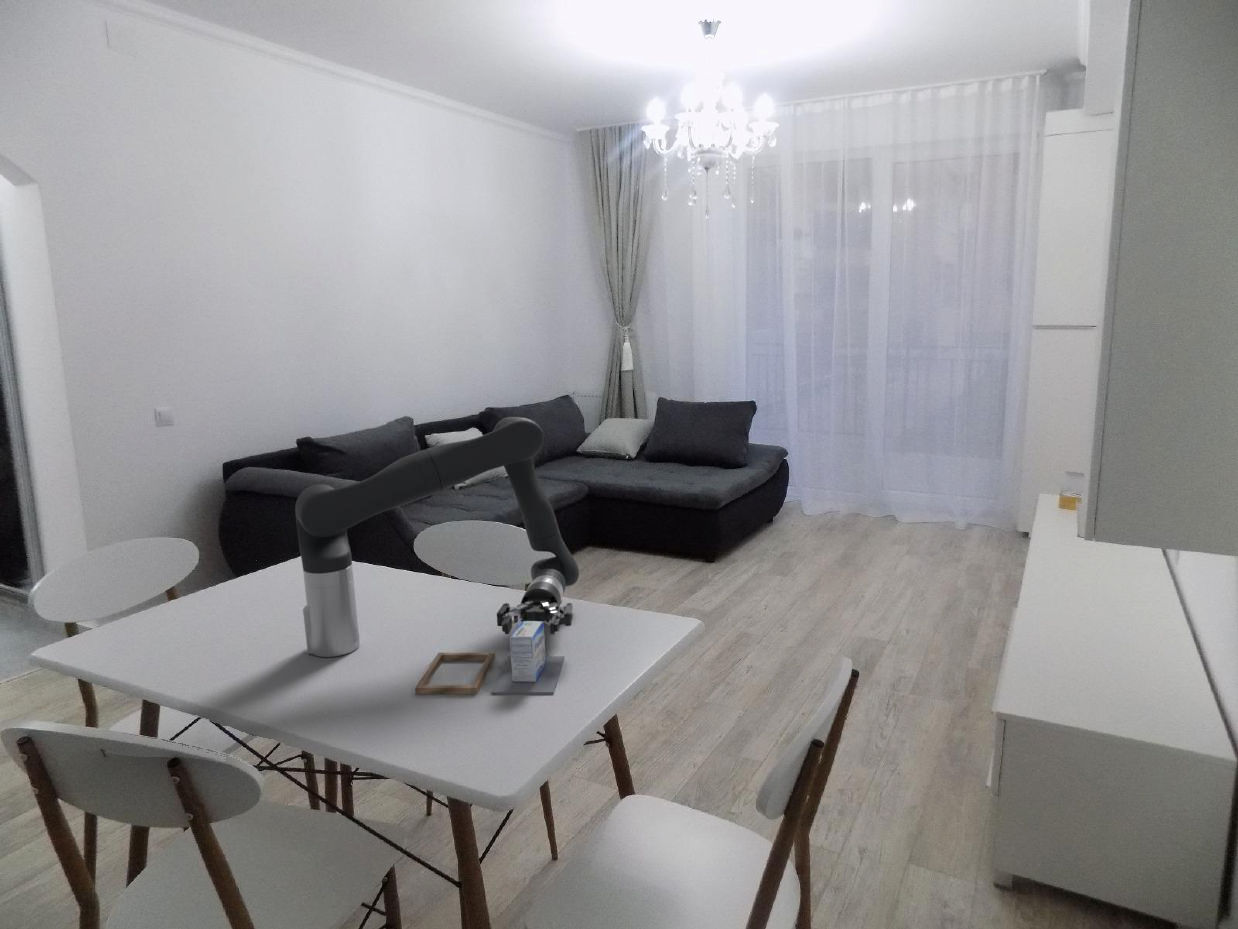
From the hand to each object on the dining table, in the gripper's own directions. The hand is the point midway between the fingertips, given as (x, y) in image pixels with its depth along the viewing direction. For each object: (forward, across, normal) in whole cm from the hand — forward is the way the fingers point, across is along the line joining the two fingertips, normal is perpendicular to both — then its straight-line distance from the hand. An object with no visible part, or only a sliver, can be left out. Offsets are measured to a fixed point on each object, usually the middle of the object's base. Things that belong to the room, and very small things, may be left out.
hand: (529, 629), depth 152 cm
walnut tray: (+2, -14, +8) cm, 16 cm away
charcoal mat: (+2, 0, +8) cm, 8 cm away
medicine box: (+2, 0, +8) cm, 8 cm away
